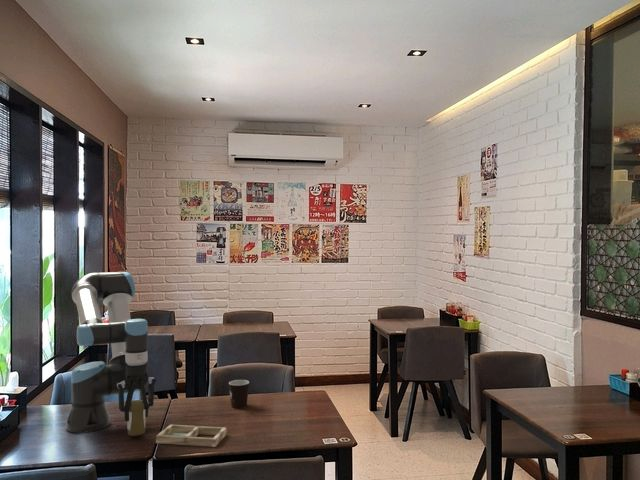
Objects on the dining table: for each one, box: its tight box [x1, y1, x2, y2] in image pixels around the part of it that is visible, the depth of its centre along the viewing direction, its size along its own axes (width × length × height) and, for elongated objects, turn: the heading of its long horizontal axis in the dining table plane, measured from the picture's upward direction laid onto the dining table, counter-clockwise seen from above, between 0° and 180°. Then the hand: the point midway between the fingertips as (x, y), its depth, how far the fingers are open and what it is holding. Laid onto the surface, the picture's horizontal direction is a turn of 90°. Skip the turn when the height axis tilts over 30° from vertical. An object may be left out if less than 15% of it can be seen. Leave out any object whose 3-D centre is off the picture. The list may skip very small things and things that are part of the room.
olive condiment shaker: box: [127, 400, 146, 436], centre depth 185 cm, size 6×6×11 cm
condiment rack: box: [155, 423, 227, 448], centre depth 183 cm, size 11×22×2 cm, turn 81°
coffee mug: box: [228, 379, 250, 410], centre depth 221 cm, size 12×9×10 cm
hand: (136, 427), depth 185 cm, fingers closed on olive condiment shaker, 4 cm apart
